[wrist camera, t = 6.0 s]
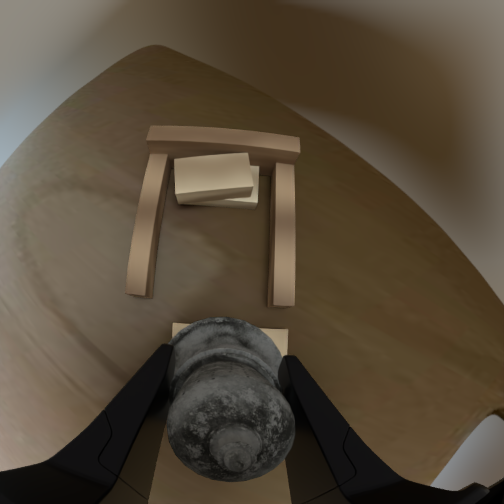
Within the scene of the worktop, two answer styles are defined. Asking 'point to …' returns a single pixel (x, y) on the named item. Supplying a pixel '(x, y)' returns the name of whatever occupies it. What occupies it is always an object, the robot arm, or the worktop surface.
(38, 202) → the worktop surface
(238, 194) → the offcut upper
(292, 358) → the robot arm
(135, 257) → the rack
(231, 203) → the offcut lower
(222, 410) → the grey chess piece
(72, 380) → the worktop surface
